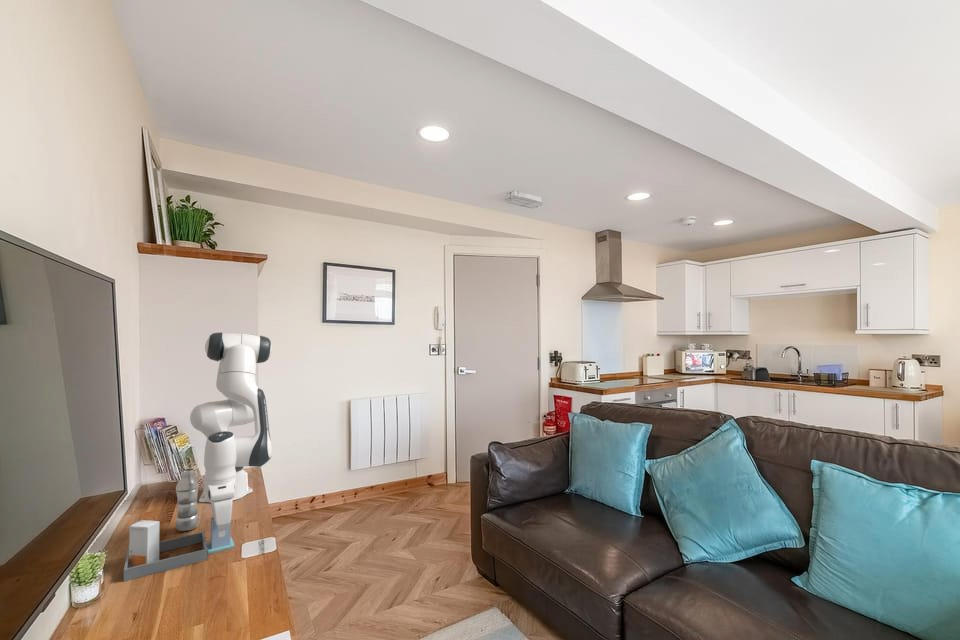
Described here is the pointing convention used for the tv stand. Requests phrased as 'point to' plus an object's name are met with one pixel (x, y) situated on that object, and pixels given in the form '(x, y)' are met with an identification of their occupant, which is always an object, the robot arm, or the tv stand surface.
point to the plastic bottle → (187, 501)
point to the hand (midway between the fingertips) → (220, 530)
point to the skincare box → (144, 542)
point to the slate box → (217, 540)
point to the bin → (169, 562)
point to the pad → (219, 547)
